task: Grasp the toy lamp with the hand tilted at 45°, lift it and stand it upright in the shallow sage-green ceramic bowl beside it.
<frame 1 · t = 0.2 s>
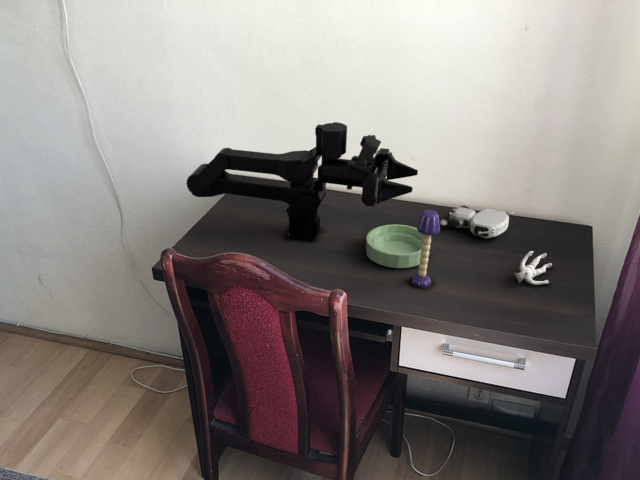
hand: (415, 180, 151), 17 cm above the table, tool horizontal, fingers open, 9 cm apart
toy lamp: (422, 283, 148), on the table
white figurine: (531, 277, 151), on the table
bowl: (397, 253, 158), on the table
robot toy: (475, 230, 168), on the table
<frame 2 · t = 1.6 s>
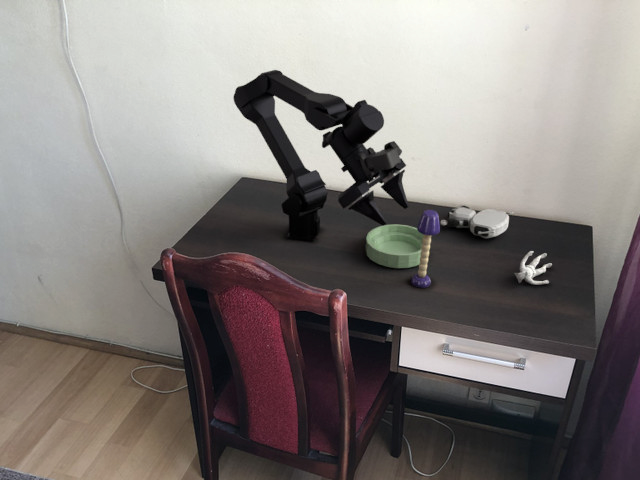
hand: (396, 215, 143), 14 cm above the table, tool tilted 45°, fingers open, 9 cm apart
nothing on the table moved.
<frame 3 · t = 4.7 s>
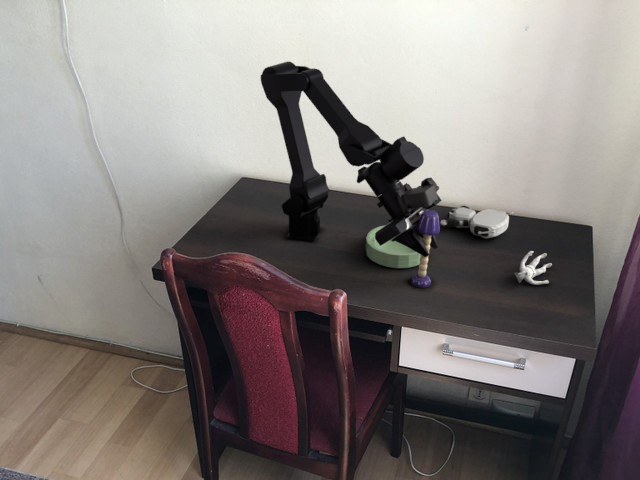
hand: (432, 252, 143), 8 cm above the table, tool tilted 45°, fingers closed on toy lamp, 4 cm apart
toy lamp: (422, 283, 148), on the table, touching gripper
everything else where it was.
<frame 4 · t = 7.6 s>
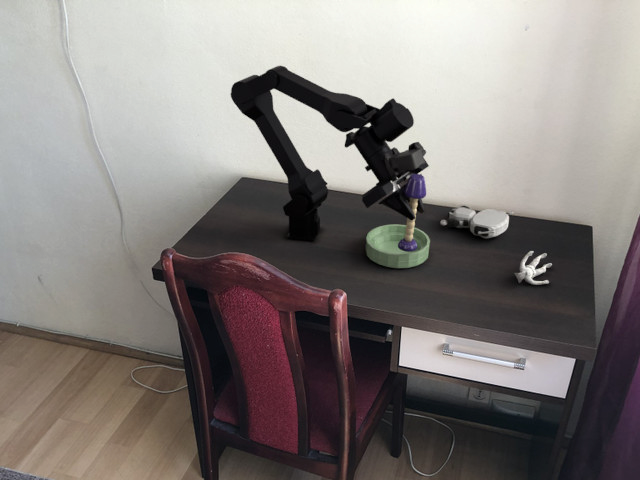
hand: (418, 215, 145), 13 cm above the table, tool tilted 45°, fingers closed on toy lamp, 4 cm apart
toy lamp: (409, 248, 150), point 5 cm above the table, touching gripper
everything else where it was.
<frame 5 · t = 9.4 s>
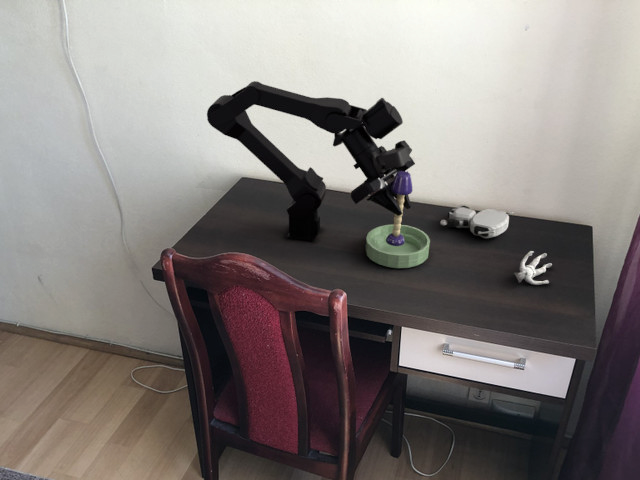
hand: (405, 211, 151), 11 cm above the table, tool tilted 45°, fingers closed on toy lamp, 4 cm apart
toy lamp: (396, 242, 156), point 3 cm above the table, touching gripper
everything else where it was.
when the fingers open (9 cm above the table, at t = 10.7 s): toy lamp stays where it is, resting on bowl.
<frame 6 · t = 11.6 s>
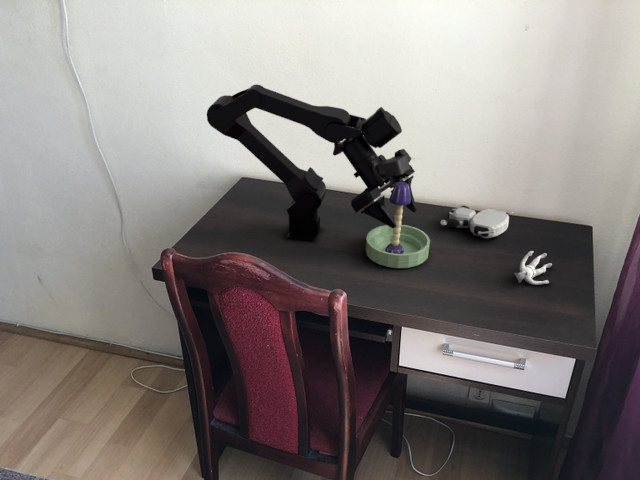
hand: (405, 219, 152), 9 cm above the table, tool tilted 45°, fingers open, 9 cm apart
toy lamp: (395, 252, 158), resting on bowl
everything else where it was.
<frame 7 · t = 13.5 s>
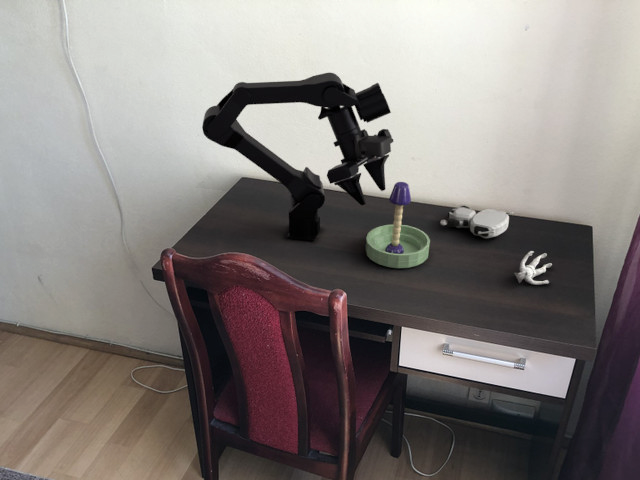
hand: (373, 197, 155), 12 cm above the table, tool tilted 30°, fingers open, 9 cm apart
nothing on the table moved.
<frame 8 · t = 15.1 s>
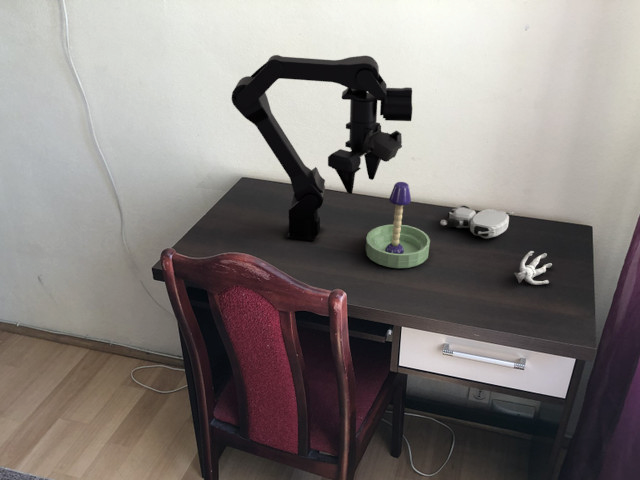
hand: (360, 186, 157), 13 cm above the table, tool pointing down, fingers open, 9 cm apart
nothing on the table moved.
at the end: toy lamp inside the target area in the bowl (0.3 cm from its centre), point 0.3 cm above the bowl's base; toy lamp tilted 0° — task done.
